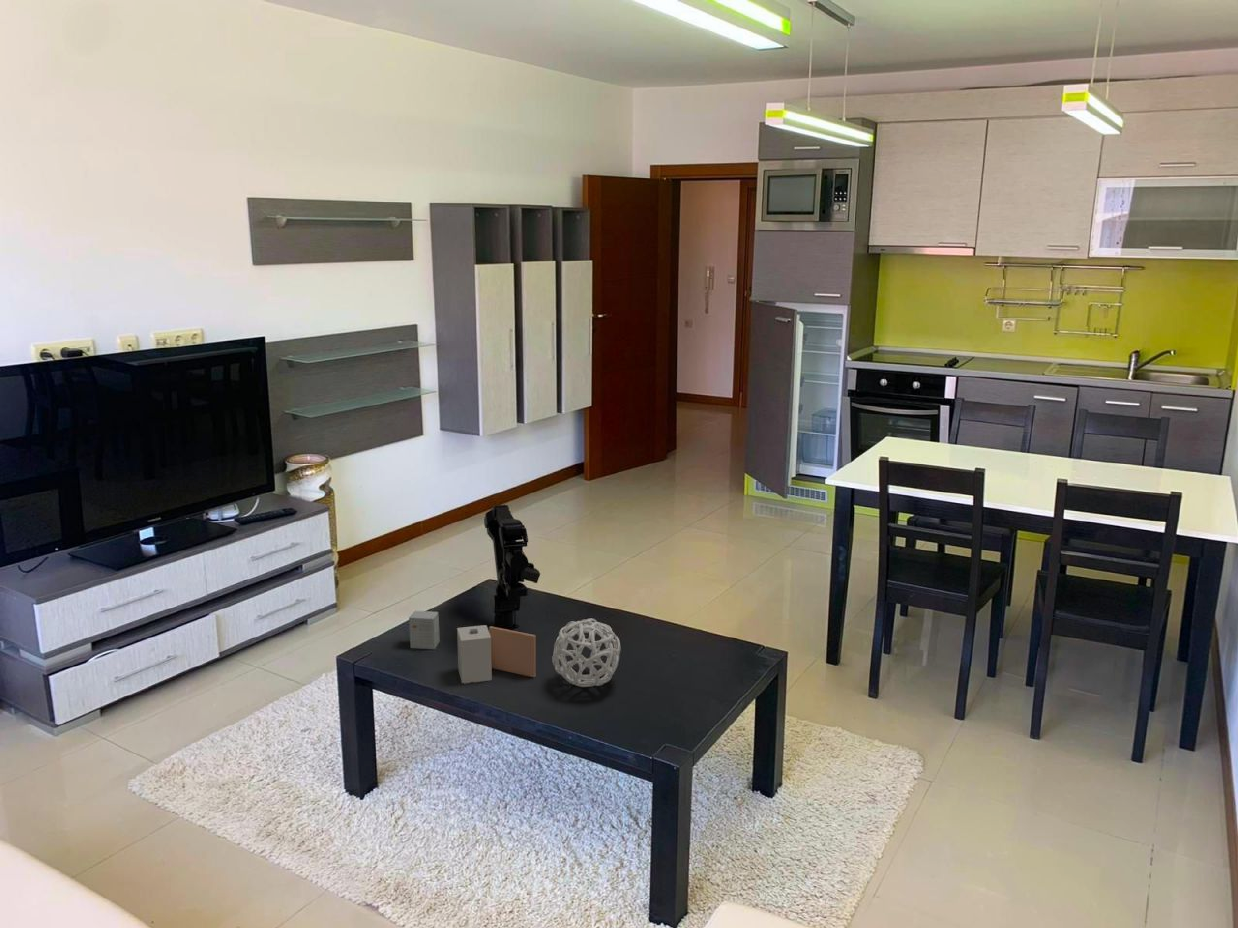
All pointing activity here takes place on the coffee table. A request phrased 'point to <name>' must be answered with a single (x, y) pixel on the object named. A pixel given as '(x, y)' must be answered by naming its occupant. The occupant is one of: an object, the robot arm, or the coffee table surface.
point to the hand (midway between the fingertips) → (512, 607)
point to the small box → (424, 629)
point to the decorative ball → (611, 653)
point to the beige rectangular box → (474, 654)
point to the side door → (513, 651)
